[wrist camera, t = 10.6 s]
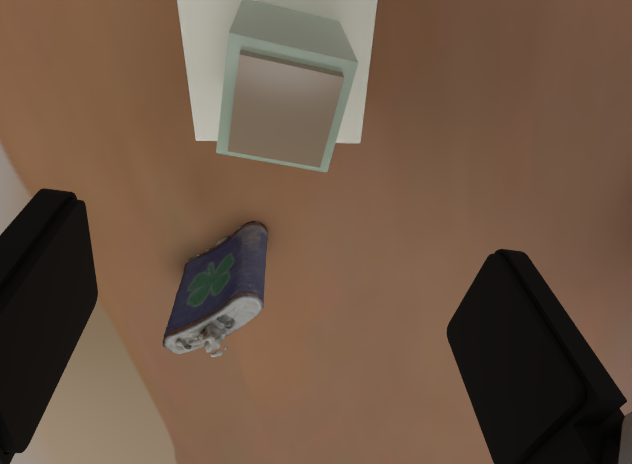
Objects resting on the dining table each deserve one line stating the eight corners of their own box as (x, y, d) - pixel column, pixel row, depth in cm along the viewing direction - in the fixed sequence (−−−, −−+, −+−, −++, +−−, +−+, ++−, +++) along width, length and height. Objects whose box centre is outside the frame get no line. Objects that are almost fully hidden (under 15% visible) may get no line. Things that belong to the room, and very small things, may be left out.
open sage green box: (339, 21, 22) (360, 67, 16) (317, 112, 25) (328, 179, 19) (242, -3, 21) (227, 36, 15) (231, 94, 24) (214, 159, 18)
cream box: (364, -59, 25) (383, -50, 20) (348, 106, 31) (360, 143, 26) (190, -68, 24) (168, -61, 20) (209, 103, 30) (195, 140, 26)
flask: (255, 215, 36) (247, 311, 28) (277, 237, 38) (275, 334, 29) (177, 264, 39) (147, 365, 31) (200, 282, 41) (178, 383, 32)
